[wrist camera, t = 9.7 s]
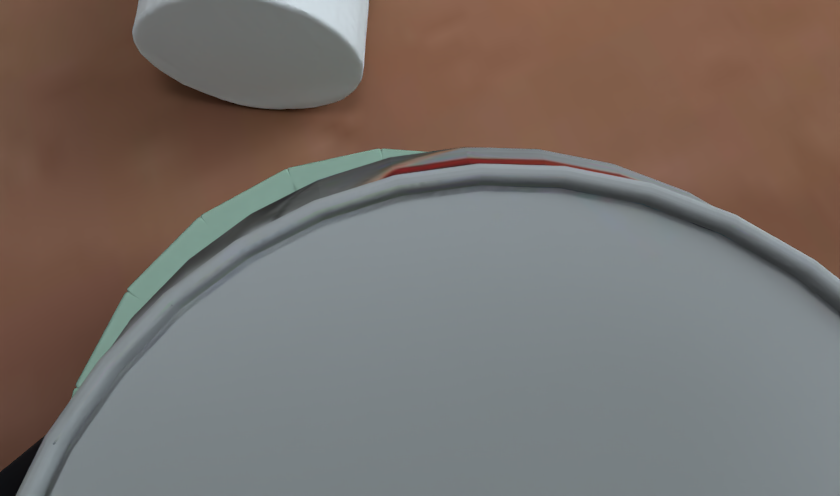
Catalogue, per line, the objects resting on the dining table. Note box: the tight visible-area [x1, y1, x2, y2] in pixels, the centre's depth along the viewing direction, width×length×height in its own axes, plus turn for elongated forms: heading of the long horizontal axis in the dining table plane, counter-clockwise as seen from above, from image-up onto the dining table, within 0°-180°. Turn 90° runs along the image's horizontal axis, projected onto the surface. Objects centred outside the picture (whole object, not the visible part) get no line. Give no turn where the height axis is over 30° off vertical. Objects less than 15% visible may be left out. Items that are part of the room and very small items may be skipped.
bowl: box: [72, 149, 425, 397], centre depth 15 cm, size 13×13×4 cm
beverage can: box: [16, 147, 840, 496], centre depth 8 cm, size 6×7×12 cm
